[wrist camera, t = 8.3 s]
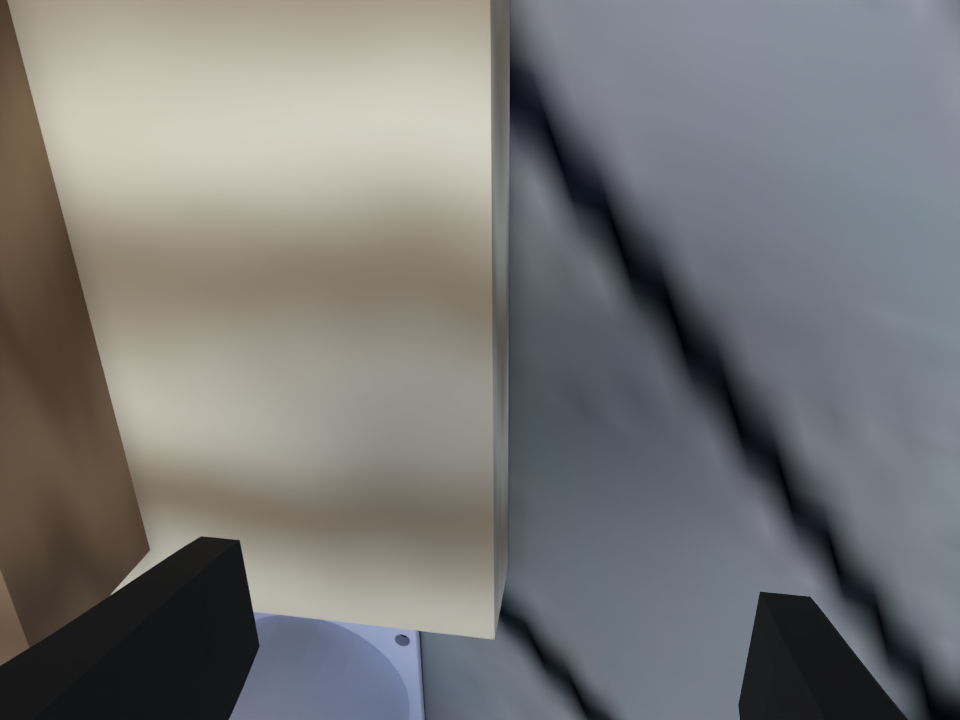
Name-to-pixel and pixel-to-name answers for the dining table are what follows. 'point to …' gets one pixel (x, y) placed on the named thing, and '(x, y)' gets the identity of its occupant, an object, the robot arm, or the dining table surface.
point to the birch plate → (298, 284)
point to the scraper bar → (50, 401)
